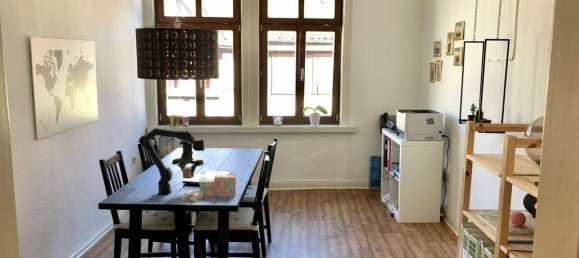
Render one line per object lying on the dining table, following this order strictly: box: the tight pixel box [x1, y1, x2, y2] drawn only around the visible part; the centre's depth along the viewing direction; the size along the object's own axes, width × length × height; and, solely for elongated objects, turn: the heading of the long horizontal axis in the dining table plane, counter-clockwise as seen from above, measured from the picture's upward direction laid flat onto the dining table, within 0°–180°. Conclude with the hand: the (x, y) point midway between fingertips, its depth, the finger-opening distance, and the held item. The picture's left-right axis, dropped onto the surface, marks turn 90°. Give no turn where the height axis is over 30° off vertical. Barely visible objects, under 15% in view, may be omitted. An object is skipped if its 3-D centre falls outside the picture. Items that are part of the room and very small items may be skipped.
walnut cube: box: [182, 166, 195, 180], centre depth 280 cm, size 5×5×6 cm
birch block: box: [182, 189, 205, 202], centre depth 271 cm, size 9×9×4 cm
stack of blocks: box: [199, 174, 237, 198], centre depth 277 cm, size 21×6×12 cm, turn 90°
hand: (188, 175), depth 281 cm, fingers closed on walnut cube, 5 cm apart
